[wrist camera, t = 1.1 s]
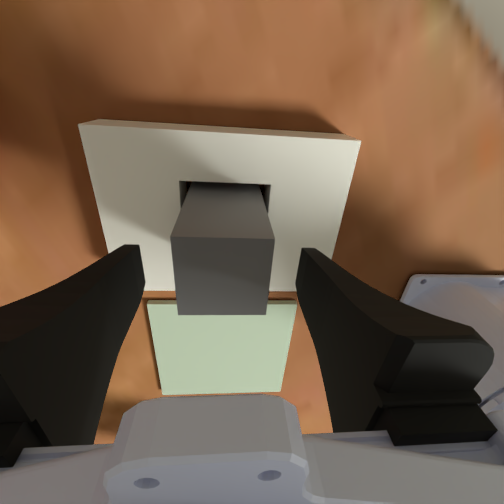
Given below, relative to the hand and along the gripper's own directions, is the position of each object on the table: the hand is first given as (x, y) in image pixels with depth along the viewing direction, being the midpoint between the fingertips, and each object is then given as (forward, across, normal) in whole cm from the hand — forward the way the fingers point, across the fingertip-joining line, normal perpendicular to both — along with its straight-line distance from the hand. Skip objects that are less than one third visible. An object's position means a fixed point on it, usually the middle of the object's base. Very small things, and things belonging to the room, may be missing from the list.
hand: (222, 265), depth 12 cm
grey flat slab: (+7, 0, 0) cm, 7 cm away
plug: (+7, 0, 0) cm, 7 cm away
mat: (+7, 0, +14) cm, 16 cm away
